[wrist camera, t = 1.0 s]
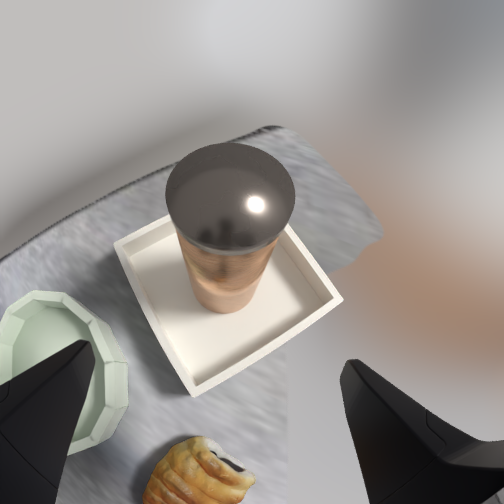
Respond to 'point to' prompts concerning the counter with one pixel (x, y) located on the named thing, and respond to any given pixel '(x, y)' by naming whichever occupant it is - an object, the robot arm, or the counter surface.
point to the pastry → (198, 476)
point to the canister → (228, 219)
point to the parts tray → (215, 324)
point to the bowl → (56, 338)
